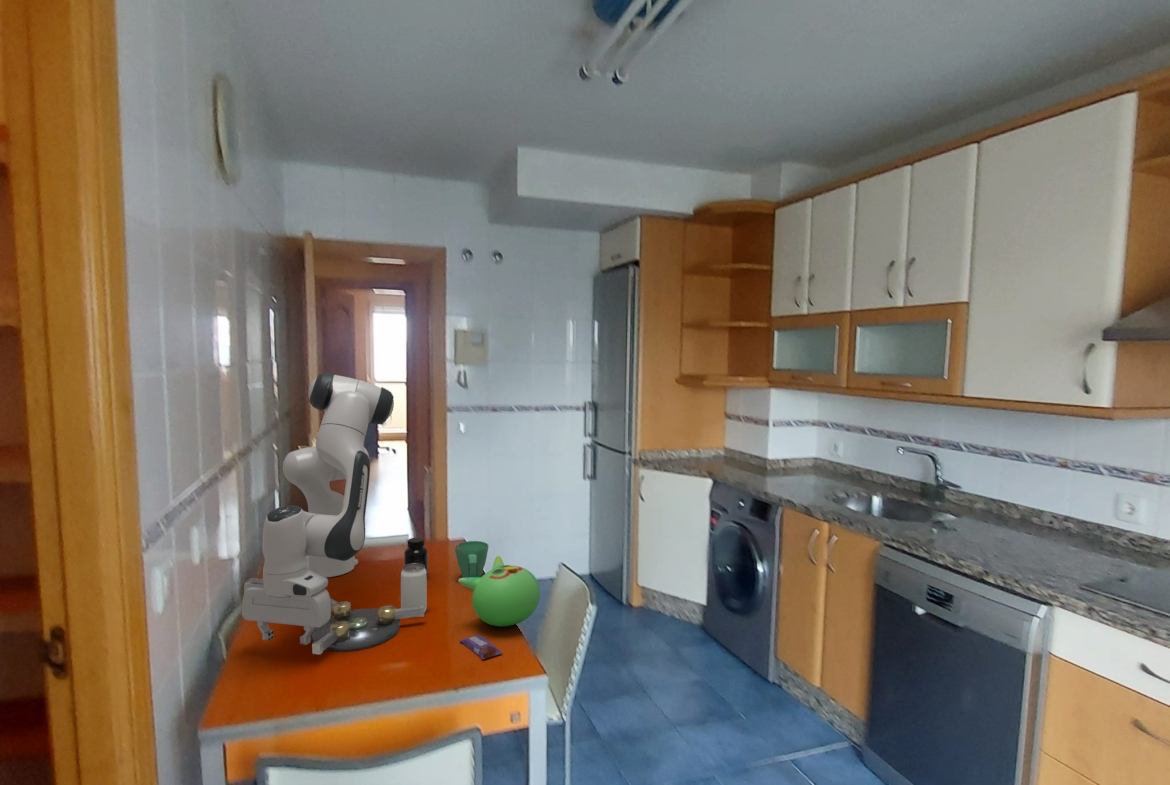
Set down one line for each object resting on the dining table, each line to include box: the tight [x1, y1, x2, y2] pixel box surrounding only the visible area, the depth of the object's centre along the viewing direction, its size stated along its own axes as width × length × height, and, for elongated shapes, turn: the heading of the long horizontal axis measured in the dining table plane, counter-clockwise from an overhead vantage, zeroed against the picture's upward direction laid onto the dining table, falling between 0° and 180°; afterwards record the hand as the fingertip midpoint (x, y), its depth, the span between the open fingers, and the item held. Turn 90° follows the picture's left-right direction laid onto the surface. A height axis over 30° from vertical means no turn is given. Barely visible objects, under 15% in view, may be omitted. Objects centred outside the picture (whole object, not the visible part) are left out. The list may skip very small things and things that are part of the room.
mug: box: [454, 540, 489, 578], centre depth 183 cm, size 15×10×10 cm
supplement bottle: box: [403, 537, 429, 578], centre depth 184 cm, size 7×7×12 cm
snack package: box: [459, 634, 503, 660], centre depth 141 cm, size 12×2×5 cm
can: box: [400, 563, 428, 613], centre depth 161 cm, size 6×6×12 cm
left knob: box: [377, 605, 425, 624], centre depth 152 cm, size 11×4×3 cm, turn 109°
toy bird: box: [457, 555, 541, 627], centre depth 155 cm, size 18×17×15 cm
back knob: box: [330, 596, 352, 620], centre depth 156 cm, size 11×4×3 cm, turn 49°
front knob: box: [311, 621, 349, 655], centre depth 139 cm, size 11×4×3 cm, turn 169°
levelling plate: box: [311, 608, 401, 653], centre depth 149 cm, size 20×20×3 cm
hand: (286, 641), depth 138 cm, fingers open, 8 cm apart
